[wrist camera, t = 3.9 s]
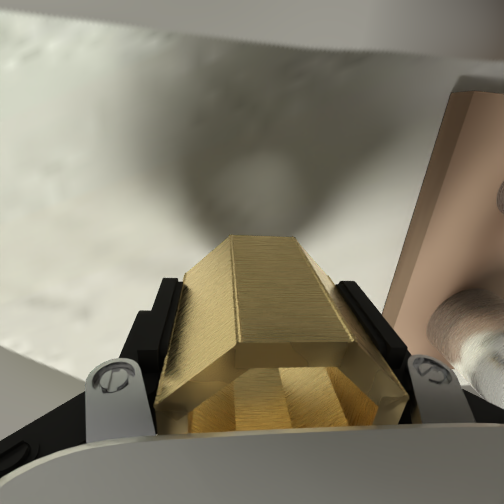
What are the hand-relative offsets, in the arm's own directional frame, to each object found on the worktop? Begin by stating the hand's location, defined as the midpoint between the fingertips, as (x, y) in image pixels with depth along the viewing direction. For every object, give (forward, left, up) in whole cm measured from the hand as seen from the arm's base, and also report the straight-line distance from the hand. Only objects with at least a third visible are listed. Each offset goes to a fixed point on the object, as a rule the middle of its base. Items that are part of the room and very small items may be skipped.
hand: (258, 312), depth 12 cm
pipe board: (-15, 0, -6) cm, 16 cm away
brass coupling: (0, 0, -1) cm, 1 cm away
